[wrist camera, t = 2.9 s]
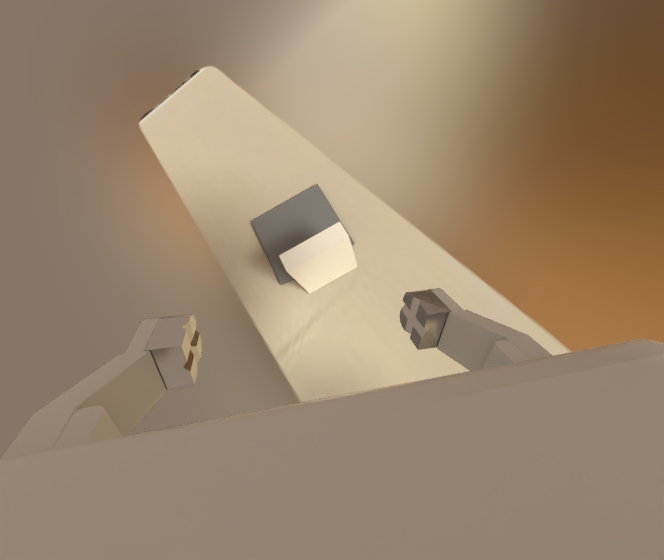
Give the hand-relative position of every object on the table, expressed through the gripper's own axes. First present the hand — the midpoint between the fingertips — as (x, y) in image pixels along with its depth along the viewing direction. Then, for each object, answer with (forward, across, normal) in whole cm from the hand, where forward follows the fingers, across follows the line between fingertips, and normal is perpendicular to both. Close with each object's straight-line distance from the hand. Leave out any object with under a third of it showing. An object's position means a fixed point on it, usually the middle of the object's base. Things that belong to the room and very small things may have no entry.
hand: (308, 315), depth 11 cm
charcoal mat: (+37, +5, -12) cm, 39 cm away
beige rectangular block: (+29, +8, -16) cm, 34 cm away
